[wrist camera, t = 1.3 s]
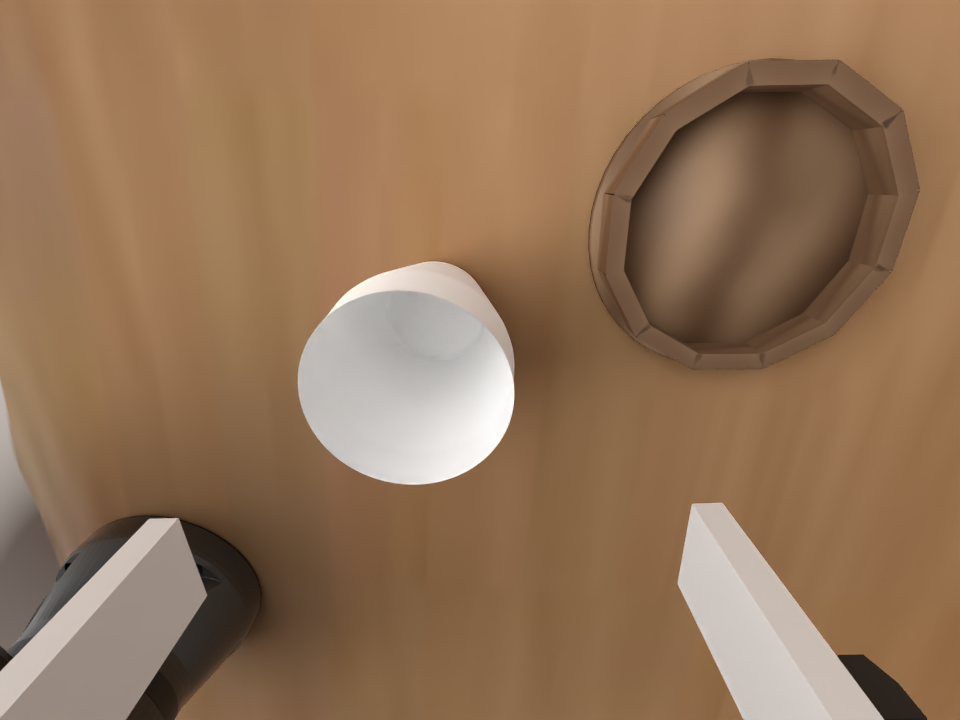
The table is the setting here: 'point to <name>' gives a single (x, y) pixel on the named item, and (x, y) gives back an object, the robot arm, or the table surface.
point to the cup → (410, 375)
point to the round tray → (752, 212)
